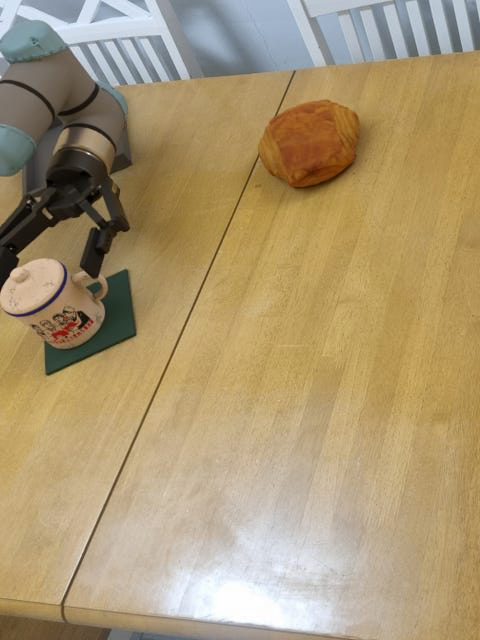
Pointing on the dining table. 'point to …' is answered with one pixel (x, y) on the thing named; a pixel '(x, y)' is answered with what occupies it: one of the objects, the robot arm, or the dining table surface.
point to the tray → (40, 160)
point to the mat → (110, 333)
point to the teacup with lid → (54, 302)
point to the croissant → (310, 142)
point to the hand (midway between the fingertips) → (41, 282)
